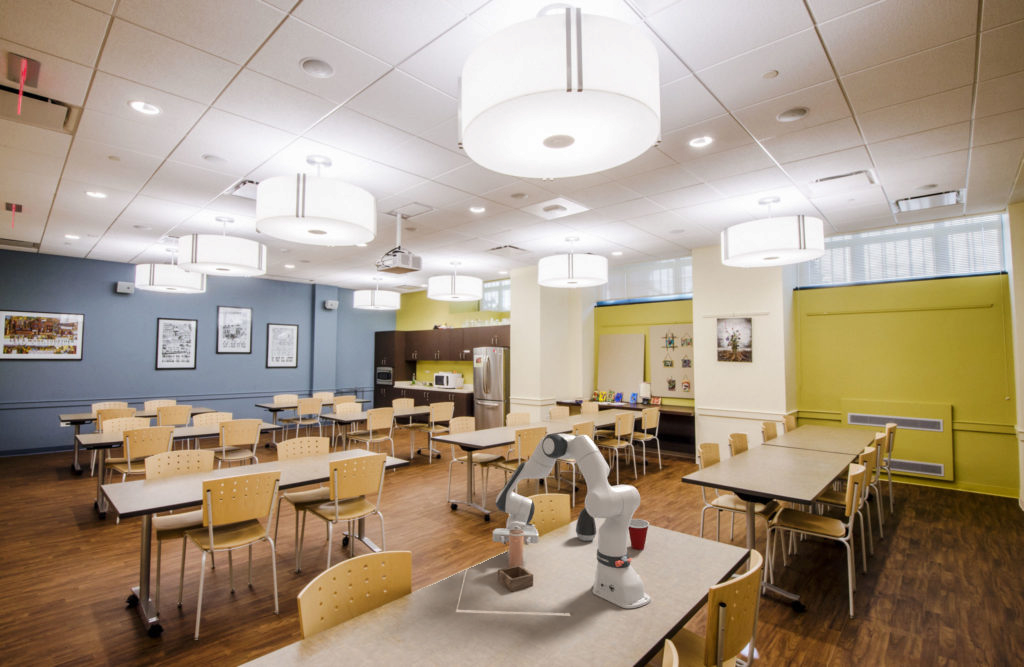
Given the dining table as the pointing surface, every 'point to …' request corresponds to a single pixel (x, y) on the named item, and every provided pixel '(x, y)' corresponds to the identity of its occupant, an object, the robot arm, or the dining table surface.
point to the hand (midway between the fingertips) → (515, 542)
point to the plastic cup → (638, 533)
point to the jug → (516, 547)
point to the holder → (515, 578)
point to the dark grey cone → (585, 526)
